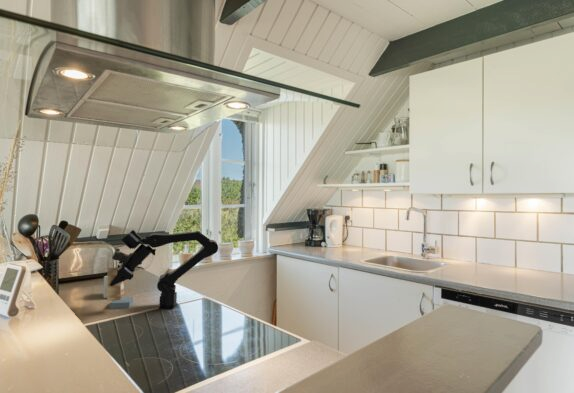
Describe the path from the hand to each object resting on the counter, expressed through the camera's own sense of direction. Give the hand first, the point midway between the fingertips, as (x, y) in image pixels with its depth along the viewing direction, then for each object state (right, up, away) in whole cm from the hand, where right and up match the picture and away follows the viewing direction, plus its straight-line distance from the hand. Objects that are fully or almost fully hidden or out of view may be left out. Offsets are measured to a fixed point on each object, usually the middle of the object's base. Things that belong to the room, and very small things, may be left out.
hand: (110, 283), depth 148 cm
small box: (-9, -12, +21) cm, 26 cm away
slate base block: (+1, -12, +9) cm, 15 cm away
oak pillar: (+1, -7, +1) cm, 7 cm away
